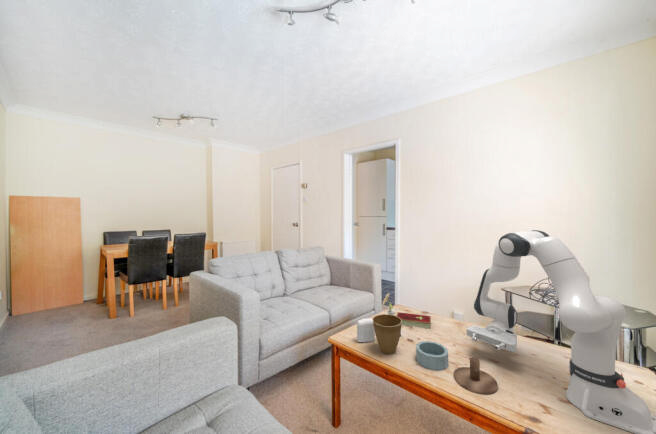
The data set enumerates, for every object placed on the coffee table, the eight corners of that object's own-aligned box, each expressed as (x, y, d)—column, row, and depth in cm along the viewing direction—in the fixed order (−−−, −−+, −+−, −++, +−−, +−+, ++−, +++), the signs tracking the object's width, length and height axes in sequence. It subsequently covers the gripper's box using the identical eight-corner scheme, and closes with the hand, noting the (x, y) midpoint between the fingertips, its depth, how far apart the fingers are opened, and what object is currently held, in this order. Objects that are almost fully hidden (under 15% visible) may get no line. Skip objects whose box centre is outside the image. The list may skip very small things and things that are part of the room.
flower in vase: (386, 327, 156) (385, 287, 155) (404, 332, 149) (403, 291, 149) (377, 336, 145) (376, 293, 145) (396, 342, 139) (395, 297, 138)
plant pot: (386, 340, 141) (385, 311, 141) (408, 351, 129) (407, 320, 129) (367, 348, 132) (366, 318, 132) (389, 362, 120) (388, 329, 120)
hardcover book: (397, 317, 172) (397, 311, 172) (430, 321, 164) (430, 315, 164) (395, 325, 161) (395, 318, 161) (431, 329, 153) (430, 323, 153)
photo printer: (373, 337, 144) (372, 316, 144) (376, 341, 140) (375, 319, 140) (356, 340, 142) (355, 318, 142) (358, 343, 138) (358, 321, 137)
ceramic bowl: (453, 361, 119) (453, 349, 119) (439, 374, 111) (438, 360, 110) (425, 349, 130) (425, 338, 130) (410, 360, 121) (410, 348, 121)
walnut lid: (502, 382, 105) (502, 360, 105) (490, 400, 94) (490, 376, 94) (462, 365, 117) (462, 345, 117) (447, 380, 106) (447, 358, 106)
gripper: (472, 320, 131) (461, 328, 122) (520, 335, 115) (511, 346, 107) (472, 332, 131) (461, 341, 123) (520, 348, 116) (511, 360, 107)
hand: (485, 343), depth 114 cm, fingers open, 8 cm apart
